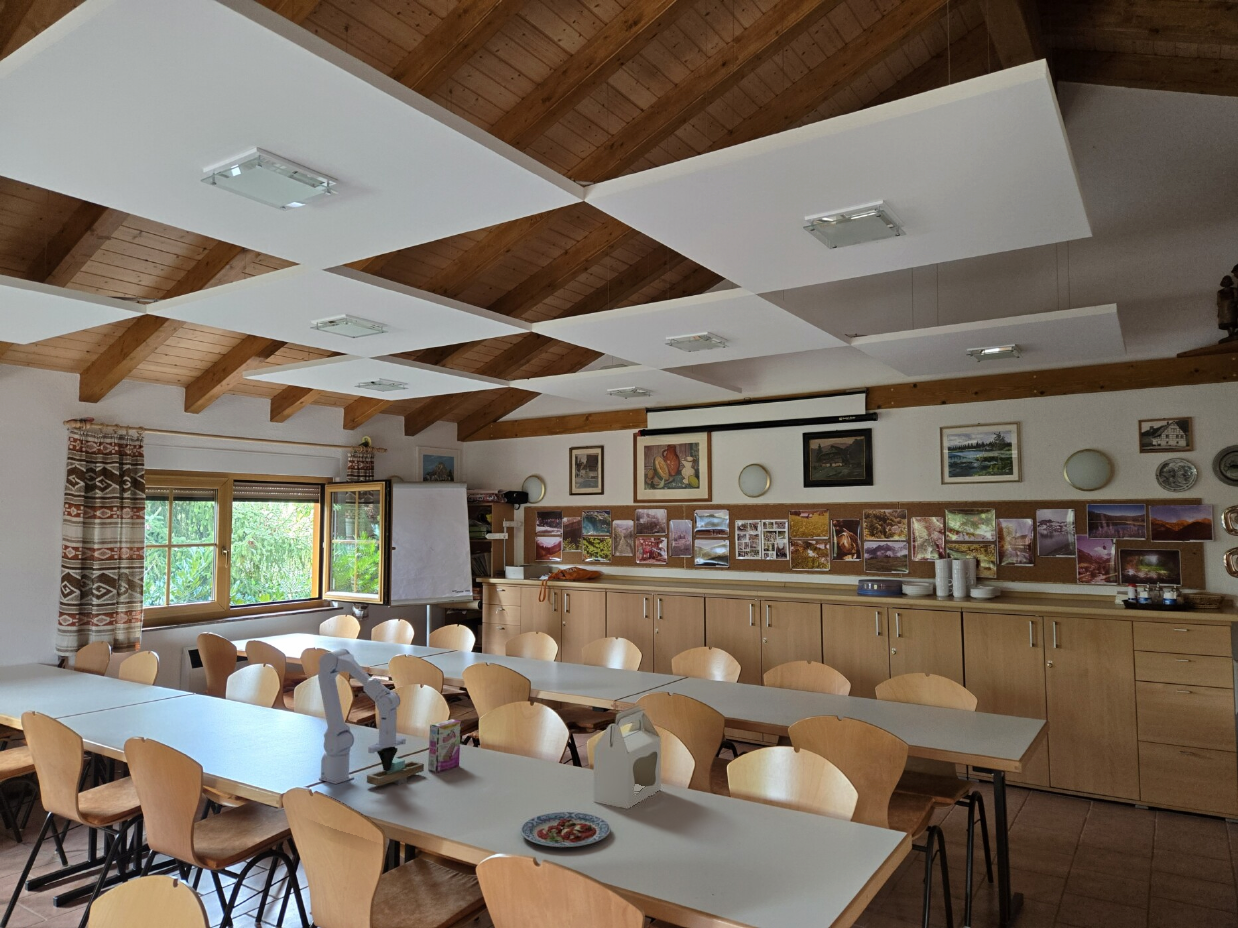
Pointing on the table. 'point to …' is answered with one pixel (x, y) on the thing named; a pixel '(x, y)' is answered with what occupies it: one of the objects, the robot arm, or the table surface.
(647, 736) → the gable box
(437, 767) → the candy bar box
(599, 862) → the table surface
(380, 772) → the wooden tray
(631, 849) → the table surface
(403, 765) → the block
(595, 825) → the ceramic plate
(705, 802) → the table surface
